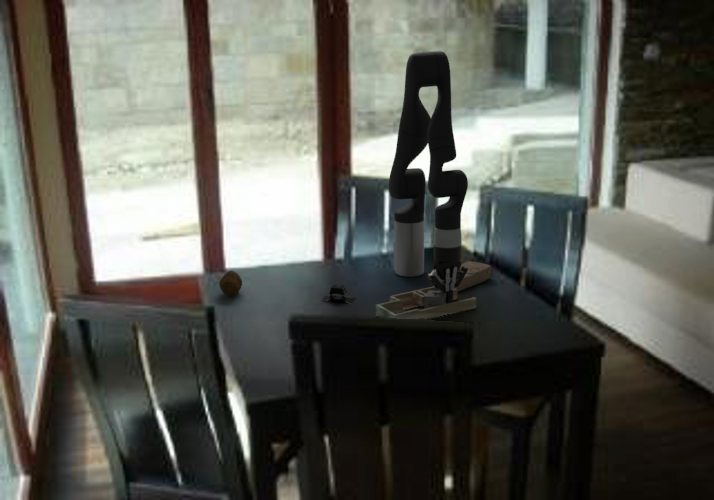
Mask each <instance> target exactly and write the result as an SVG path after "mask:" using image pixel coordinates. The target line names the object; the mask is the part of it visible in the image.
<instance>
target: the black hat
mask: <svg viewBox="0 0 714 500" xmlns="http://www.w3.org/2000/svg"><path fill="white" fill-rule="evenodd" d="M347 292H348V291H347V288H346V285H345V284H340V285H339V284H333V285H331V286H330V289H329V295H325V296H324V297H323V298H322V299H321V300H320V303H321V302H322V303H332V304H333V303H334V304H345V305H346V304H348V305H352V304H353V303H354V302H355V300H356V299H357V297H356V296H355V297H354V296H353V297H352V296H347Z"/></svg>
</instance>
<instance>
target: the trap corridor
mask: <svg viewBox="0 0 714 500" xmlns="http://www.w3.org/2000/svg"><path fill="white" fill-rule="evenodd" d="M429 290H432V291H442V290H440V289H437V288H436V287H435V286H434V285H432V286H429V287H424V288H419V289H415V290H411V291H406V292H402V293H399V294H398V293H397V294H393V295H390V296H388V297H389V298H388V299H389V301H386V302H382V303H376V304H375V317H376V316H380V317H385V318H396V319H419V318H424V319H428V318H433V317H438V318H440V317H439V316H442V317H444V316H443V315H446V316H448V315H447V314H450V315H453V313H454V314H458V313H461V311H462V312H466V310H467V311H470V310H474V309H477V297H475V296H473V297H470V298H465V299H461V300H458V291H457V289H454V290H453V300H452V302H451V303H448V304H444V305H439V306H435V307H431V308H426V309H425V308H424V307H423V306H425V295H426V294H427V292H428V291H429ZM455 300H457V301H455ZM419 306H420V307H421V306H422V307H421V308H423V309H418V308H420V307H419ZM415 307H416V308H415ZM411 308H412V310H410V309H411ZM414 308H415V309H414ZM406 309H407V311H406ZM457 312H458V313H457ZM395 313H396V314H395Z"/></svg>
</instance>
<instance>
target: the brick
mask: <svg viewBox="0 0 714 500" xmlns="http://www.w3.org/2000/svg"><path fill="white" fill-rule="evenodd" d="M461 265H462V266H463V267H466V268H468V271H467V273H466V275H465V276H464V278H463V280H462V281H461V283H460V285H459V286H458V287H455V288H454V289H457V292H459V291H463V290H465V289H467V288H470V287H473V286H475V285H478V284H480V283H483V282H486V281H487V280H489V279H490V278H491V272H492V270H491V269H492V267H491V265H489V264H486V263H481V262H476V261H471V260H469V261H466V262H464V263H461ZM437 277H438V278H437V279H438V280H439V276H438V275H437ZM457 280H458V279H457ZM439 282H440V281H439Z"/></svg>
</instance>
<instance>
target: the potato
mask: <svg viewBox="0 0 714 500" xmlns="http://www.w3.org/2000/svg"><path fill="white" fill-rule="evenodd" d="M242 286H243V280H242V277H241V276H240V275H239V274H238V272H236V271H234V270H229V271H228V272H226V273H225V274H224V275H223V276H222V277H221V279H220V280H219V288H220V290H221V292H222V293H223V294H224V295H225V296H228V297H229V298H230V297H231V298H232V297H234V296H236V295H237V294H238V293H239V291H240V290H241V289H242Z"/></svg>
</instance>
